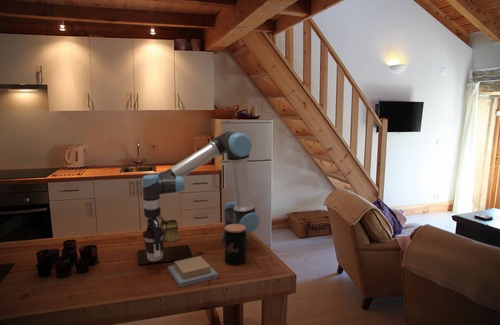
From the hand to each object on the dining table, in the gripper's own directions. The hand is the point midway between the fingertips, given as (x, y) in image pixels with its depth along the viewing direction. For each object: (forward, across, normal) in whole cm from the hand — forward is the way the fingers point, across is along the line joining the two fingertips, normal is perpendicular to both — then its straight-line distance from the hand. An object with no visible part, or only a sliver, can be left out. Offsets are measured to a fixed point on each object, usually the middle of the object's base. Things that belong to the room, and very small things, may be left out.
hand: (154, 252), depth 168 cm
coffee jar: (+9, +12, +37) cm, 40 cm away
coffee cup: (+3, 0, 0) cm, 3 cm away
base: (+8, +15, +13) cm, 22 cm away
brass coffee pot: (+8, -32, +15) cm, 36 cm away
